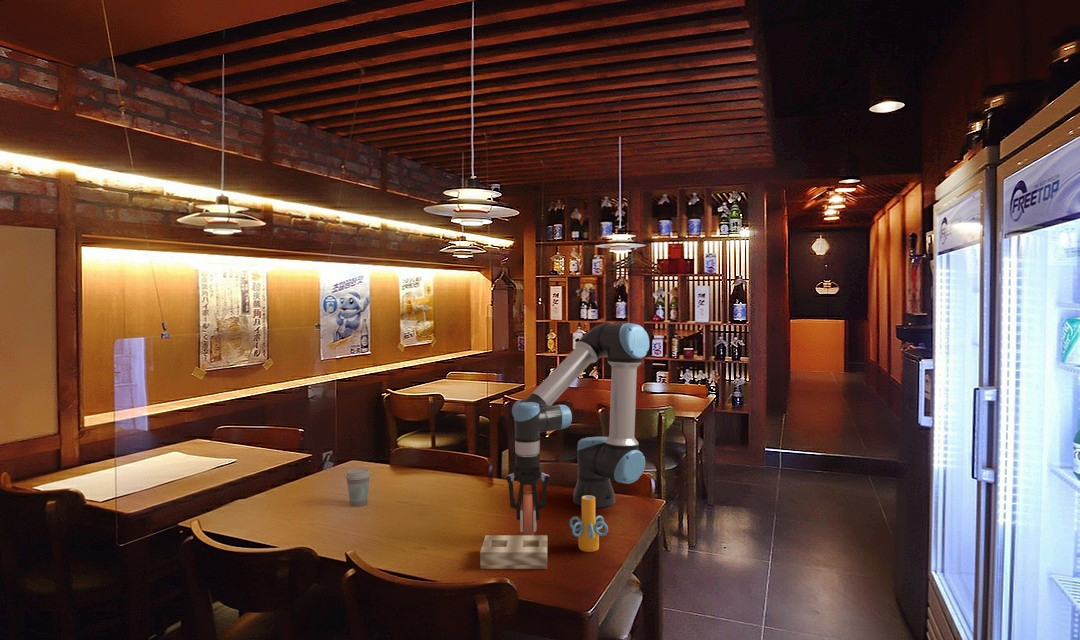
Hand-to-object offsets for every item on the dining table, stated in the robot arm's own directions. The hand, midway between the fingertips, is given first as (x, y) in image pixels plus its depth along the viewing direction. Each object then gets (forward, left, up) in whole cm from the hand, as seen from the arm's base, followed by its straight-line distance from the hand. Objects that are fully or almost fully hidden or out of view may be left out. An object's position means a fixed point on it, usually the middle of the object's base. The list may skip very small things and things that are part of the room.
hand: (528, 530), depth 186 cm
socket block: (+3, +15, -3) cm, 16 cm away
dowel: (0, 0, -3) cm, 3 cm away
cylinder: (-18, +7, -3) cm, 20 cm away
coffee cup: (+63, -32, -3) cm, 71 cm away
